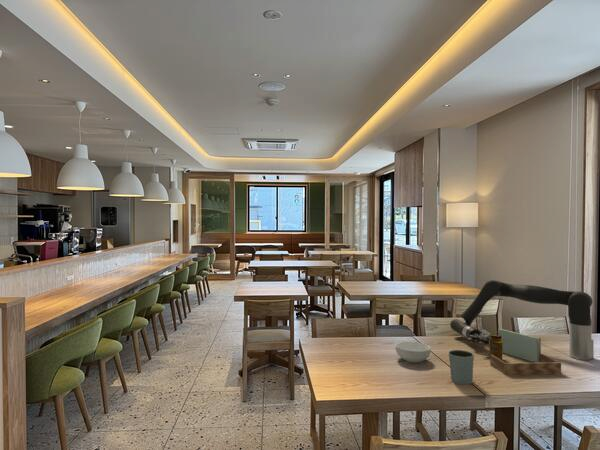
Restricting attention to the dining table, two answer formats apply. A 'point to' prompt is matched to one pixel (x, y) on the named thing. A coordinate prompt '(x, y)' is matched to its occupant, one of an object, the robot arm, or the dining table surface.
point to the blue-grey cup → (461, 366)
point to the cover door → (521, 345)
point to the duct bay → (527, 366)
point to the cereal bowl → (413, 351)
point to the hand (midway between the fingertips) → (487, 342)
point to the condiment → (495, 346)
